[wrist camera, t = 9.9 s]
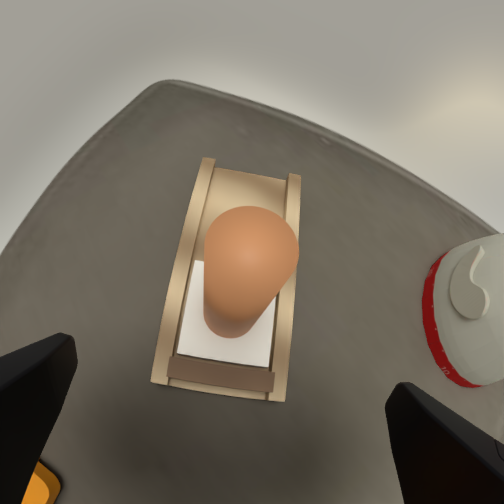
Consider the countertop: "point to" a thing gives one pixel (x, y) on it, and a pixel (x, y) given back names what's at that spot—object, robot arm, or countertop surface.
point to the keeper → (238, 287)
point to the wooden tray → (192, 248)
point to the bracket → (41, 487)
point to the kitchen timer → (467, 312)
